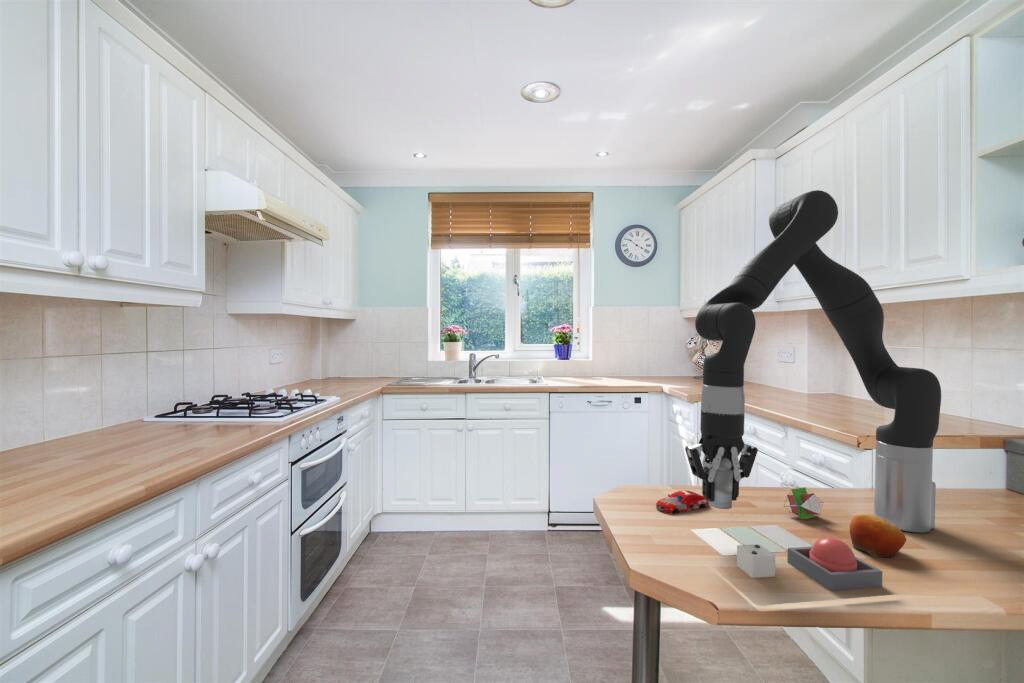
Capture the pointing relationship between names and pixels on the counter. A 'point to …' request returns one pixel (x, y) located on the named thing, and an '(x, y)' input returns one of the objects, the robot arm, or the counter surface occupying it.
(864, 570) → the gray square tray
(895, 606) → the counter surface
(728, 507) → the ridged rounded cylinder
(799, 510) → the geometric puzzle
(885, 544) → the fruit
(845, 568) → the dome
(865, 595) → the counter surface
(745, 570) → the die
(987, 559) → the counter surface
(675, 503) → the race car
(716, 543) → the game board
